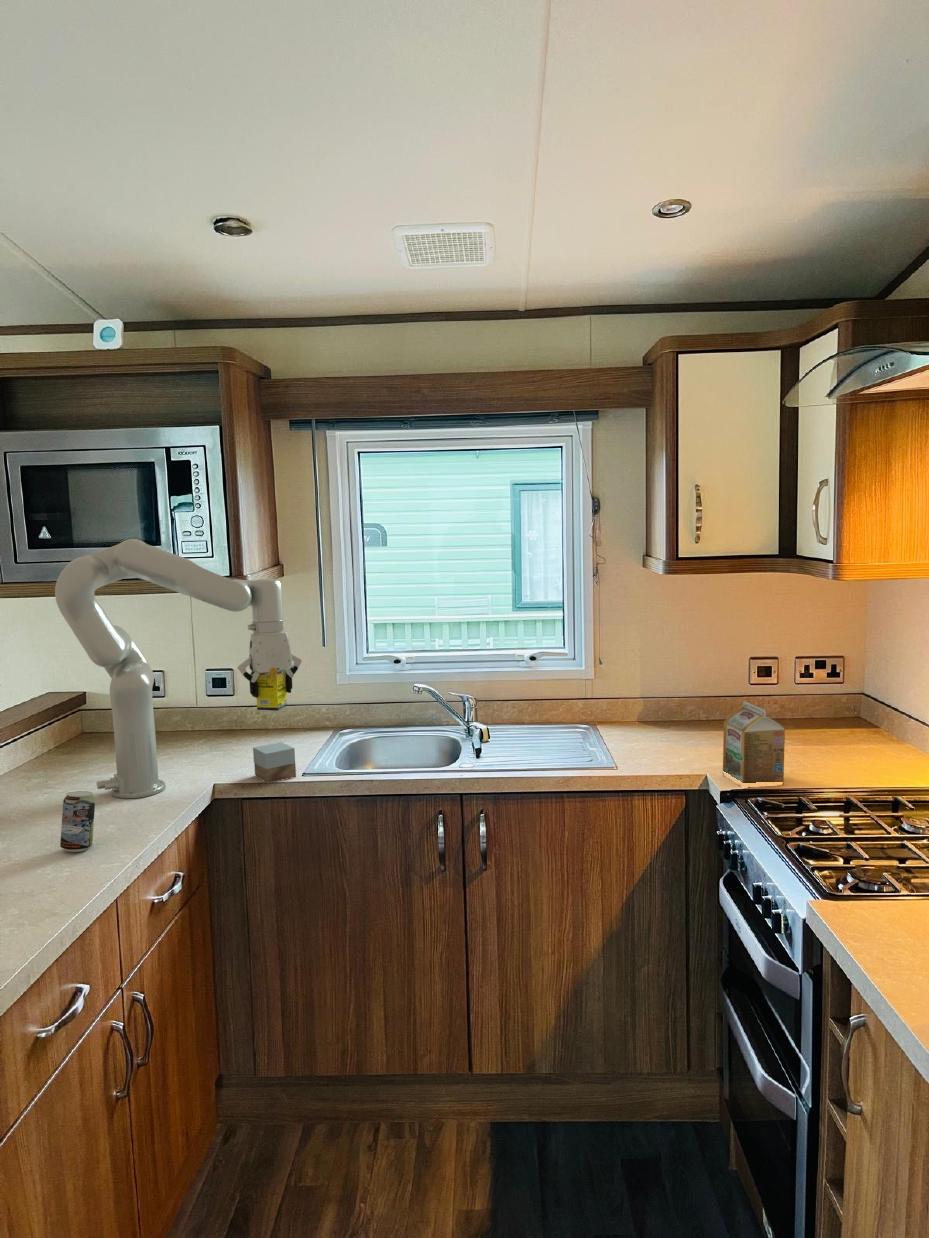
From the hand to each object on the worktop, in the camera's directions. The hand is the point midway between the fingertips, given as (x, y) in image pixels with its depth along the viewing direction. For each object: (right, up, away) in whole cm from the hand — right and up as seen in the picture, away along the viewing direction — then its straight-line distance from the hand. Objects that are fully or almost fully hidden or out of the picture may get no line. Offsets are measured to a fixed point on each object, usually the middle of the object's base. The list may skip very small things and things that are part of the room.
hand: (271, 694), depth 219 cm
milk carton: (+122, -21, -8) cm, 124 cm away
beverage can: (-30, -28, -44) cm, 60 cm away
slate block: (0, -18, +3) cm, 18 cm away
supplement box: (0, -4, 0) cm, 4 cm away
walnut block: (0, -22, +3) cm, 22 cm away
